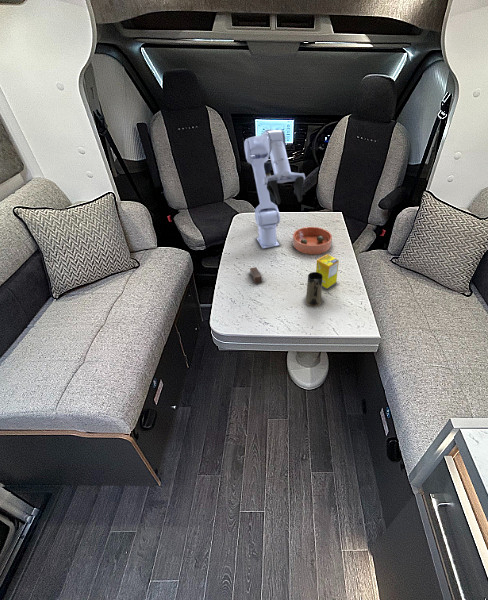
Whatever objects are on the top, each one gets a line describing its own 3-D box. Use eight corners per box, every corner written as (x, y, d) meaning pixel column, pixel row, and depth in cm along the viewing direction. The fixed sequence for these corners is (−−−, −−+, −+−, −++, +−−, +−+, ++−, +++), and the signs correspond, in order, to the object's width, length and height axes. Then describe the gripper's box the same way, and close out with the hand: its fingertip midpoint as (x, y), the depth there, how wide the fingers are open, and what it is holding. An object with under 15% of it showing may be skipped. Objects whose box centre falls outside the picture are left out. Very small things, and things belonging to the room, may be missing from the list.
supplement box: (324, 277, 134) (326, 253, 127) (336, 284, 131) (339, 259, 124) (314, 283, 131) (316, 259, 124) (326, 290, 128) (328, 266, 121)
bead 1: (299, 244, 153) (299, 238, 151) (305, 243, 154) (305, 237, 152) (301, 247, 151) (302, 241, 149) (308, 246, 152) (308, 240, 150)
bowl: (287, 239, 158) (287, 230, 155) (321, 233, 162) (321, 224, 160) (301, 257, 145) (301, 248, 142) (337, 250, 150) (338, 241, 147)
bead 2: (315, 241, 155) (316, 235, 153) (321, 240, 156) (322, 234, 154) (318, 244, 153) (318, 238, 151) (324, 243, 154) (324, 237, 152)
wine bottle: (270, 228, 166) (268, 165, 147) (259, 224, 168) (256, 162, 149) (277, 223, 170) (276, 161, 151) (267, 220, 173) (265, 158, 154)
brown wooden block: (250, 273, 136) (249, 268, 134) (256, 272, 136) (256, 266, 135) (255, 283, 131) (254, 277, 129) (261, 282, 131) (261, 276, 130)
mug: (305, 296, 125) (307, 268, 117) (320, 296, 125) (322, 269, 117) (306, 310, 119) (308, 282, 111) (322, 310, 119) (324, 282, 111)
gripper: (262, 159, 110) (271, 199, 109) (303, 156, 114) (313, 194, 113) (258, 171, 117) (267, 208, 115) (297, 167, 121) (306, 203, 119)
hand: (289, 202), depth 114 cm, fingers open, 7 cm apart
